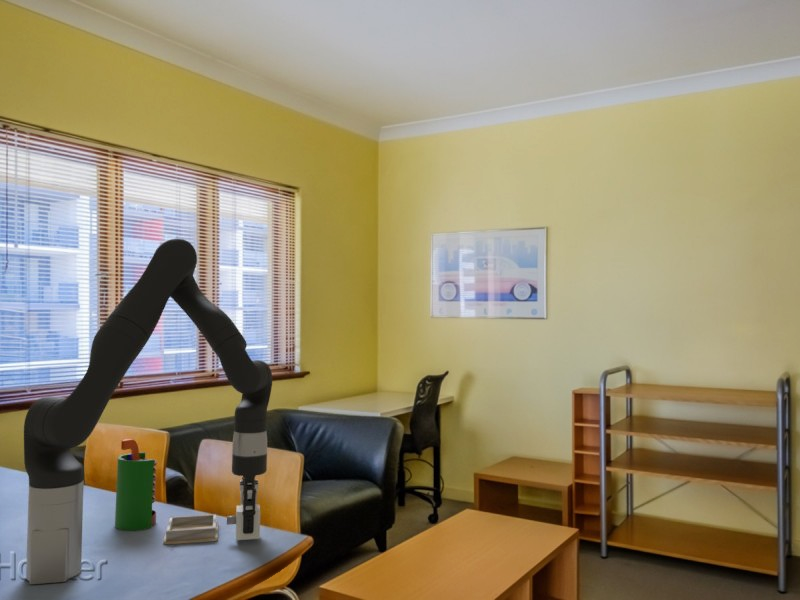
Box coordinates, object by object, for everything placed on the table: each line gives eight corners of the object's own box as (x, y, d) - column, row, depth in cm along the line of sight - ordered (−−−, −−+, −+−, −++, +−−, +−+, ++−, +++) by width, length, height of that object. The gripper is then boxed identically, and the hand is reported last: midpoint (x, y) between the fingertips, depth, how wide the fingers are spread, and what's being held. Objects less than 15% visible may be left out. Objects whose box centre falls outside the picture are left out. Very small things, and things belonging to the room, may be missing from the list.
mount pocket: (217, 540, 143) (217, 528, 143) (163, 544, 140) (163, 532, 140) (218, 524, 154) (218, 513, 154) (167, 527, 151) (167, 516, 151)
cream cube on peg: (259, 538, 142) (260, 510, 142) (226, 540, 141) (227, 512, 141) (258, 531, 147) (259, 504, 147) (226, 533, 145) (227, 506, 146)
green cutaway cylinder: (164, 524, 153) (166, 439, 154) (126, 533, 147) (129, 444, 147) (144, 515, 160) (146, 433, 161) (107, 523, 154) (109, 437, 154)
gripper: (268, 457, 139) (266, 538, 138) (265, 444, 153) (263, 518, 152) (232, 458, 137) (230, 541, 136) (232, 445, 151) (230, 520, 150)
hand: (247, 528), depth 144 cm, fingers closed on cream cube on peg, 5 cm apart
